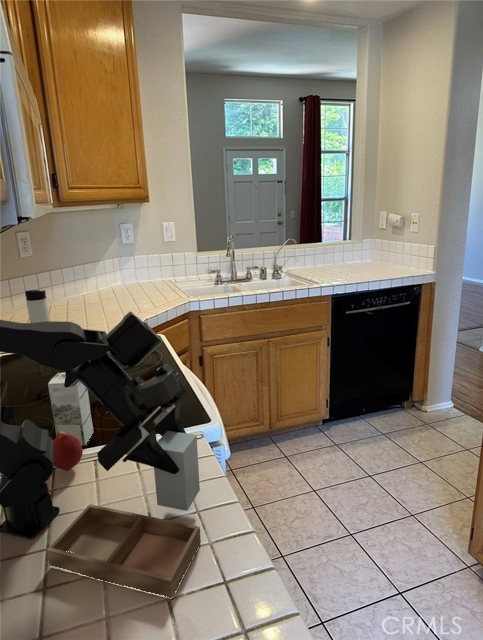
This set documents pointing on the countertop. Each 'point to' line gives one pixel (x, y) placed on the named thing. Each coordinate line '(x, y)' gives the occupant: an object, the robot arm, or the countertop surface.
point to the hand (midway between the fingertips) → (184, 461)
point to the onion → (66, 451)
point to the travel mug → (37, 306)
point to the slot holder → (127, 549)
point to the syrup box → (71, 409)
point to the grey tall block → (185, 482)
